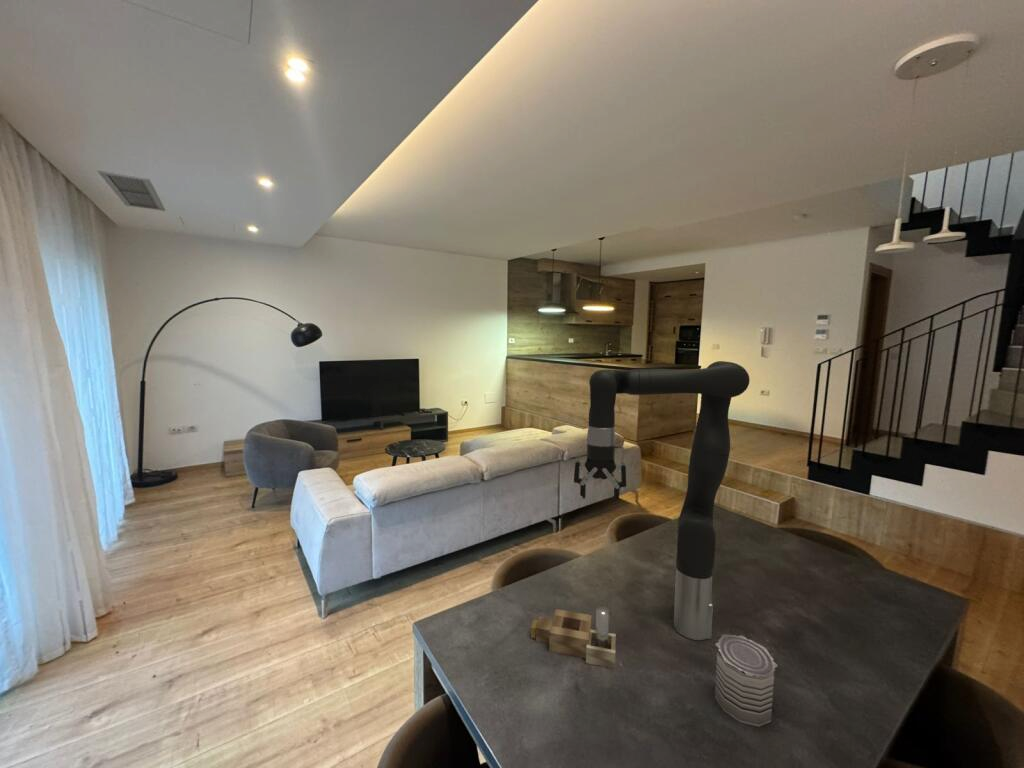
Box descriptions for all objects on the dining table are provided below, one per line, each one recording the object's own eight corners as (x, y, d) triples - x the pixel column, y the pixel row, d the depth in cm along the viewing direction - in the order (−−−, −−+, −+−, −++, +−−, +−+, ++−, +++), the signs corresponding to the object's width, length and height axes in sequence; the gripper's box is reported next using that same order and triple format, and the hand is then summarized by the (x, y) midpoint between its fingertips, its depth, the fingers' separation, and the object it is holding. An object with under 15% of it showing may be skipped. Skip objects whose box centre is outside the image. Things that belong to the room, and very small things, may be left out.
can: (751, 682, 96) (754, 633, 95) (786, 726, 84) (789, 672, 83) (704, 683, 95) (706, 634, 94) (732, 727, 84) (735, 673, 83)
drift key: (562, 634, 111) (563, 624, 111) (561, 643, 107) (561, 633, 107) (533, 628, 113) (533, 619, 113) (530, 637, 109) (530, 627, 109)
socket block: (591, 632, 112) (591, 615, 112) (588, 658, 102) (588, 640, 102) (541, 623, 116) (541, 606, 115) (533, 647, 106) (534, 629, 106)
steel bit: (607, 652, 105) (609, 608, 104) (607, 661, 102) (609, 615, 101) (595, 649, 106) (596, 605, 105) (594, 658, 102) (595, 613, 101)
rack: (615, 648, 106) (615, 634, 106) (614, 668, 99) (615, 653, 99) (588, 643, 108) (588, 629, 108) (585, 662, 101) (586, 647, 101)
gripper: (627, 441, 114) (625, 497, 116) (576, 437, 118) (575, 492, 119) (627, 447, 107) (625, 506, 108) (573, 443, 111) (572, 501, 112)
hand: (599, 499), depth 114 cm, fingers open, 8 cm apart
